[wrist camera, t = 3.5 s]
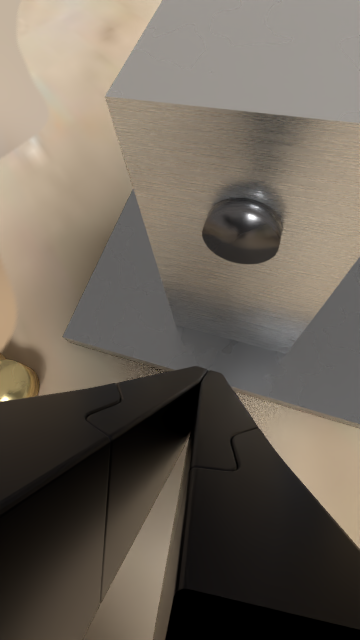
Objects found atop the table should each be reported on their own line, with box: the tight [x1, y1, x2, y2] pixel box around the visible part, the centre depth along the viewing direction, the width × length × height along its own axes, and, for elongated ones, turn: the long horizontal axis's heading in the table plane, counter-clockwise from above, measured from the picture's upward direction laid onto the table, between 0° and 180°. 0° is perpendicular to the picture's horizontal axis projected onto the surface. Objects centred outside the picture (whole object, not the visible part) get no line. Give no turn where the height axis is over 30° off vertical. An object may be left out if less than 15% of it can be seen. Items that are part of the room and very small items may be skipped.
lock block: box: [105, 0, 360, 354], centre depth 13 cm, size 16×6×12 cm, turn 162°
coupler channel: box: [63, 189, 360, 428], centre depth 20 cm, size 30×18×4 cm, turn 162°
